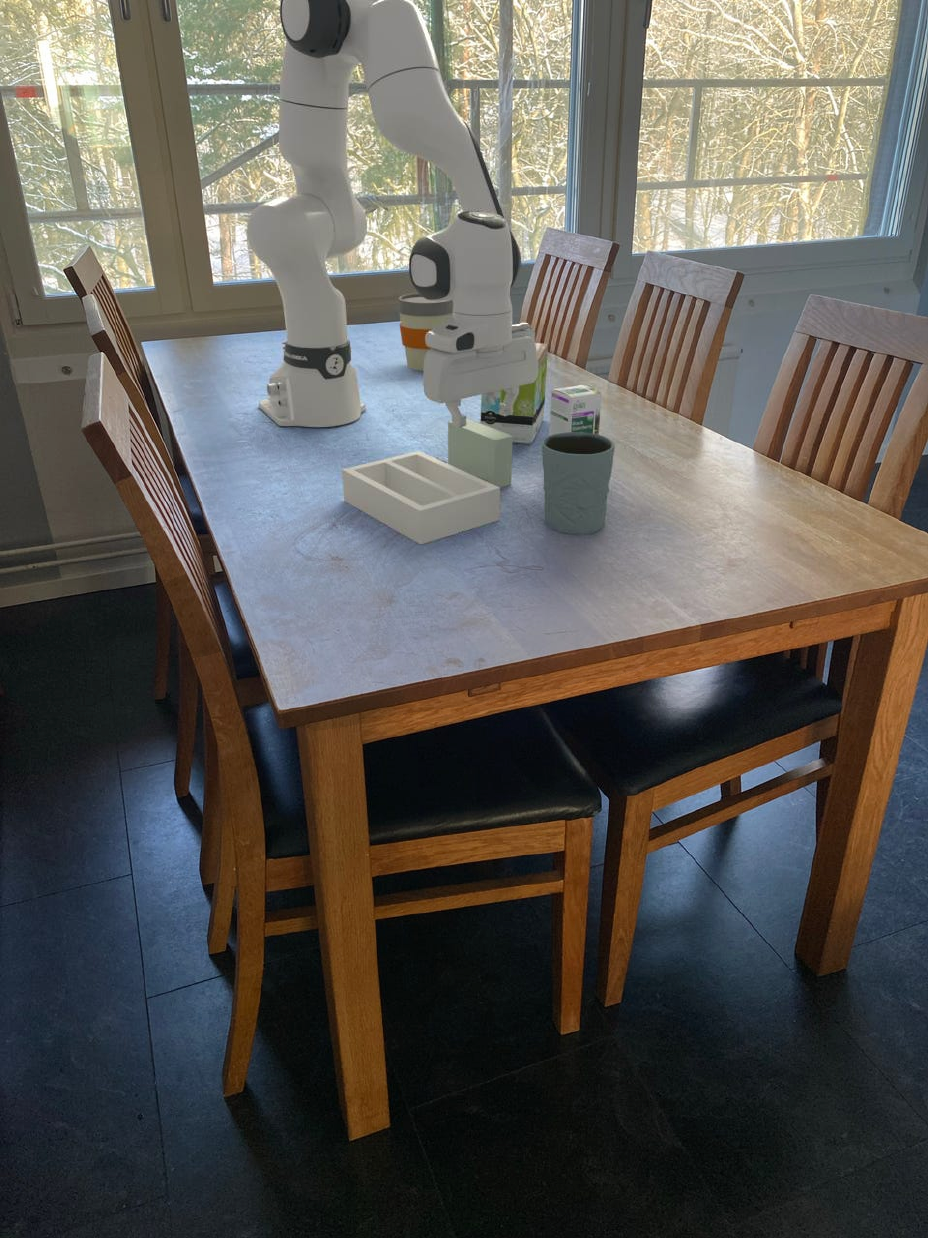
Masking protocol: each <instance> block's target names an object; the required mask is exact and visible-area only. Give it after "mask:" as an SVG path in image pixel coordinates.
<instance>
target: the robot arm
mask: <svg viewBox="0 0 928 1238" xmlns="http://www.w3.org/2000/svg"><path fill="white" fill-rule="evenodd" d="M279 5H280V7H279V18H280V24H281V27H282V31H283V34H284V37H285V38H286V41H285V46H284V50H283V59H282V64H281V72H280V73H281V74H280V86H279V113H278V114H279V116H278V117H279V119H278V120H279V121H278V123H279V125H278V149H279V153H280V155H281V157H282V158H283V159H284V161H285V162H286V163H288V164H289V165H290V167H291V169H292V172H293V174H294V180H295V183H296V195H286V196H281V197H280V196H278V197H275V198H273V199H270V200H269V201H267V202H264V203H262V204H260V205H259V206H257V207H255V208H254V209H253V210H252V212H251V213H250V215H249V217H248V221H247V224H246V227H247V228H246V232H247V234H246V235H247V240H248V242H249V245H250V249H251V250H252V252H253V254H254V255H255V256H256V257H257V259H259V260H260V261H261V263H264V264H265V265H266V267H267V268H268V269H269V271H270V272H271V274H272V276H273V279H274V280H275V282H276V284H277V287H278V290H279V292H280V293H279V294H280V296H281V300H282V306H283V314H284V315H283V316H284V321H285V323H284V324H285V330H286V342H282V343H281V345H284V346H282V350H283V361H284V362H282V364H280V366H279V367H278V368H277V369H276V371H275V372H273V374H271V375H270V377H269V381H268V382H269V383H267V384H266V391H267V394H268V396H269V397H266V398H265V399H262V400H260V401H258V408H260V409H261V410H262V412H263V413H265V414H266V415H267V416H268V417H269V418H270V420H272V421H273V422H275V423H276V424H277V425H278V426H280V427H305V428H306V427H307V428H328V427H336V426H338V427H339V426H342V425H347V424H350V423H353V422H355V421H357V420H358V419H360V418H361V414H362V412H364V411H365V410H367V407H366V404H365V402H362V401H361V396H360V388H359V381H358V373H357V369H356V368H355V366H353V365H352V364H351V362H352V361H351V360H352V347H351V341H350V340H349V339H348V328H347V325H348V324H347V309H346V306H347V305H346V304H347V303H346V299H345V297H344V294H343V293H342V291H340V290H339V289H338V288H336V287H335V286H334V284H333V283H332V280H331V279H330V275H329V274H328V271H327V269H328V268H327V267H326V266H327V264H326V261H327V260H330V259H336V258H342V257H343V256H345V255H347V254H349V253H351V252H352V251H353V250H355V249H357V248H358V247H360V246H361V244H362V243H363V242H364V240H365V237H366V236H367V230H368V220H367V215H366V212H365V210H364V208H363V206H362V204H361V203H360V202H359V201H358V199H357V198H356V197H355V194H354V192H353V188H352V185H351V180H350V175H349V170H348V160H347V143H348V118H349V117H348V115H349V98H350V97H349V96H350V93H349V90H350V89H349V87H350V86H349V84H350V78H351V77H350V76H351V74H352V72H353V70H354V69H355V67H357V66H359V64H360V66H361V68H362V71H363V76H364V80H365V86H366V90H367V94H368V99H369V103H370V104H369V105H370V107H371V111H372V115H373V119H374V121H375V124H376V126H377V128H378V130H379V131H380V134H381V135H382V137H383V138H384V139H386V141H387V142H388V143H389V144H391V145H392V146H393V147H394V148H396V149H398V150H400V151H402V152H404V153H406V154H409V155H412V156H414V157H417V158H419V159H422V160H424V161H426V162H428V163H430V164H432V165H433V166H435V167H436V168H438V169H440V170H441V171H442V172H443V173H444V174H445V175H446V176H447V177H448V178H449V180H450V181H451V183H452V186H453V187H454V189H455V190H454V191H455V193H456V196H457V198H458V201H459V204H460V207H461V210H462V211H461V212H460V213H458V214H457V215H456V216H455V217H454V218H453V221H452V222H451V223H450V224H449V225H448V226H446V227H444V228H443V229H441V230H439V231H436V232H433V233H430V234H428V235H425V236H421V237H420V238H419V239H418V240H416V242H415V244H414V245H413V247H412V249H411V251H410V253H409V254H410V255H409V261H408V272H409V273H408V274H409V278H410V281H411V284H412V286H413V287H414V289H415V291H416V292H417V293H419V294H420V295H421V296H422V297H424V298H425V299H427V300H434V301H443V300H451V299H452V300H453V303H454V306H453V314H452V317H451V318H449V319H448V320H447V321H445V322H444V323H442V324H441V325H439V326H437V327H435V328H434V329H432V330H430V331H429V332H427V333H426V335H425V343H426V345H427V346H428V347H431V349H430V350H429V351H428V352H427V353H426V356H425V360H424V371H423V375H422V376H423V383H422V384H423V392H424V395H425V396H426V398H427V399H428V400H429V401H431V402H434V403H437V404H444V405H445V406H446V408H447V410H448V411H449V413H450V415H451V421H452V425H453V426H454V427H457V428H460V427H463V426H466V418H467V414H463V413H462V412H461V411H460V408H459V407H461V406H462V400H463V399H468V398H472V397H477V396H482V395H481V394H486V393H490V392H495V391H499V390H503V389H504V391H506V395H505V398H504V400H503V403H500V404H499V408H500V409H499V414H500V415H503V416H508V415H512V414H513V404H514V402H515V400H516V398H517V396H518V394H519V386H521V385H526V384H530V383H534V382H535V380H536V378H537V376H538V360H537V350H536V345H535V343H536V332H535V331H536V330H535V328H533V327H532V326H531V325H530V324H529V323H528V322H521V323H518V324H513V305H512V304H513V303H512V301H511V295H510V293H511V288H512V287H513V286H514V285H515V283H516V281H517V280H518V277H519V274H520V272H521V267H522V255H521V250H520V247H519V244H518V242H517V240H516V237H515V236H514V235H513V232H512V231H511V228H510V227H509V226H510V225H509V224H508V220H506V218H505V216H504V213H503V210H502V207H501V205H500V202H499V199H498V196H497V194H496V193H497V192H496V190H495V188H494V184H493V182H492V179H491V176H490V174H489V170H488V167H487V165H486V162H485V159H484V156H483V154H482V151H481V148H480V145H479V142H478V141H477V138H476V136H475V134H474V132H473V129H472V128H471V127H470V125H469V124H468V123H467V122H466V121H465V120H464V119H462V117H461V116H460V115H459V113H458V111H457V110H456V108H455V106H454V104H453V103H452V102H451V99H450V97H449V95H448V92H447V90H446V88H445V85H444V82H443V79H442V74H441V69H440V65H439V60H438V58H437V54H436V51H435V48H434V44H433V42H432V38H431V35H430V33H429V31H428V28H427V25H426V22H425V20H424V18H423V16H422V13H421V11H420V9H419V8H418V7H417V6H416V4H415V2H414V1H413V0H280V4H279Z"/></svg>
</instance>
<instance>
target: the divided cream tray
mask: <svg viewBox="0 0 928 1238" xmlns="http://www.w3.org/2000/svg"><path fill="white" fill-rule="evenodd" d="M341 471H342V487H343V489H342V490H343V501H344V503H347V504H349V505H351V506H352V507H355V508H356V509H358V510H360V511H361V512H363V513H364V514H366V515H368V516H370V517H371V518H373V519H375V520H377V521H379V522H380V523H382V524H384V525H385V526H387V527H389V528H391V529H392V530H394V531H396V532H398V533H400V534H402V535H403V536H405V537H407V538H409V539H410V540H411V541H413V542H415V543H417V544H419V545H424V544H428V543H431V542H434V541H438V540H441V539H444V538H447V537H450V536H453V535H456V534H460V533H463V532H466V531H470V530H472V529H476V528H478V527H483V526H485V525H488V524H493V523H496V522H499V521H500V508H501V507H500V506H501V502H500V501H501V488H499V487H497V486H495V485H493V484H491V483H488V481H487V480H485V479H483V478H480V477H478V476H477V477H475V476H473V475H471V474H469V473H466V472H464V471H462V470H460V469H458V468H455V467H453V466H451V465H449V464H448V461H447V462H446V461H445V460H443V459H440V458H437V457H436V458H435V457H433V456H431V455H429V454H427V453H424V452H423V451H420V450H417V451H413V452H408V453H405V454H400V455H396V456H393V457H388V458H384V459H380V460H375V461H371V462H367V463H364V464H359V465H355V466H351V467H346V468H343V469H342V470H341ZM462 531H463V532H462ZM459 532H460V533H459Z"/></svg>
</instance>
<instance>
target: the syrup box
mask: <svg viewBox="0 0 928 1238" xmlns="http://www.w3.org/2000/svg"><path fill="white" fill-rule="evenodd" d="M601 408H602V392H600V390H597V389H595V388H593V387H590V386H587V385H584V384H578V385H574V386H568V387H567V386H566V387H561V388H552V389H551V390H550V410H549V434H548V435H549V436H551V435H554V434H559V433H568V432H582V433H591V434H597V435H600V420H601Z"/></svg>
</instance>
